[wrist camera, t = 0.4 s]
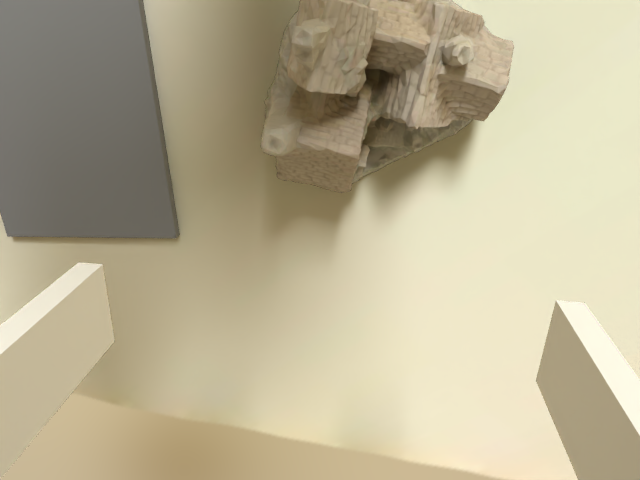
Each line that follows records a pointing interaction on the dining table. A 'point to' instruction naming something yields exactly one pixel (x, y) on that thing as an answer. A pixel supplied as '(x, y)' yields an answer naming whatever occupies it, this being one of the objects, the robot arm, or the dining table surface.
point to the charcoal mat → (81, 122)
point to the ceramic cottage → (377, 85)
